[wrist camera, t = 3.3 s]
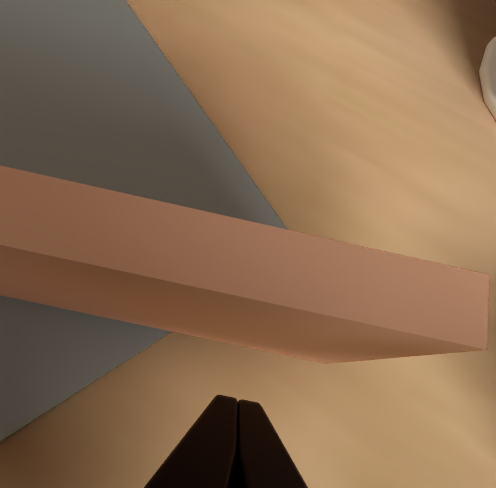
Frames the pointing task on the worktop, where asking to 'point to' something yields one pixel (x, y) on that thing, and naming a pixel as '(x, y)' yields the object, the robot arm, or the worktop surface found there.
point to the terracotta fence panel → (228, 276)
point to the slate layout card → (98, 171)
